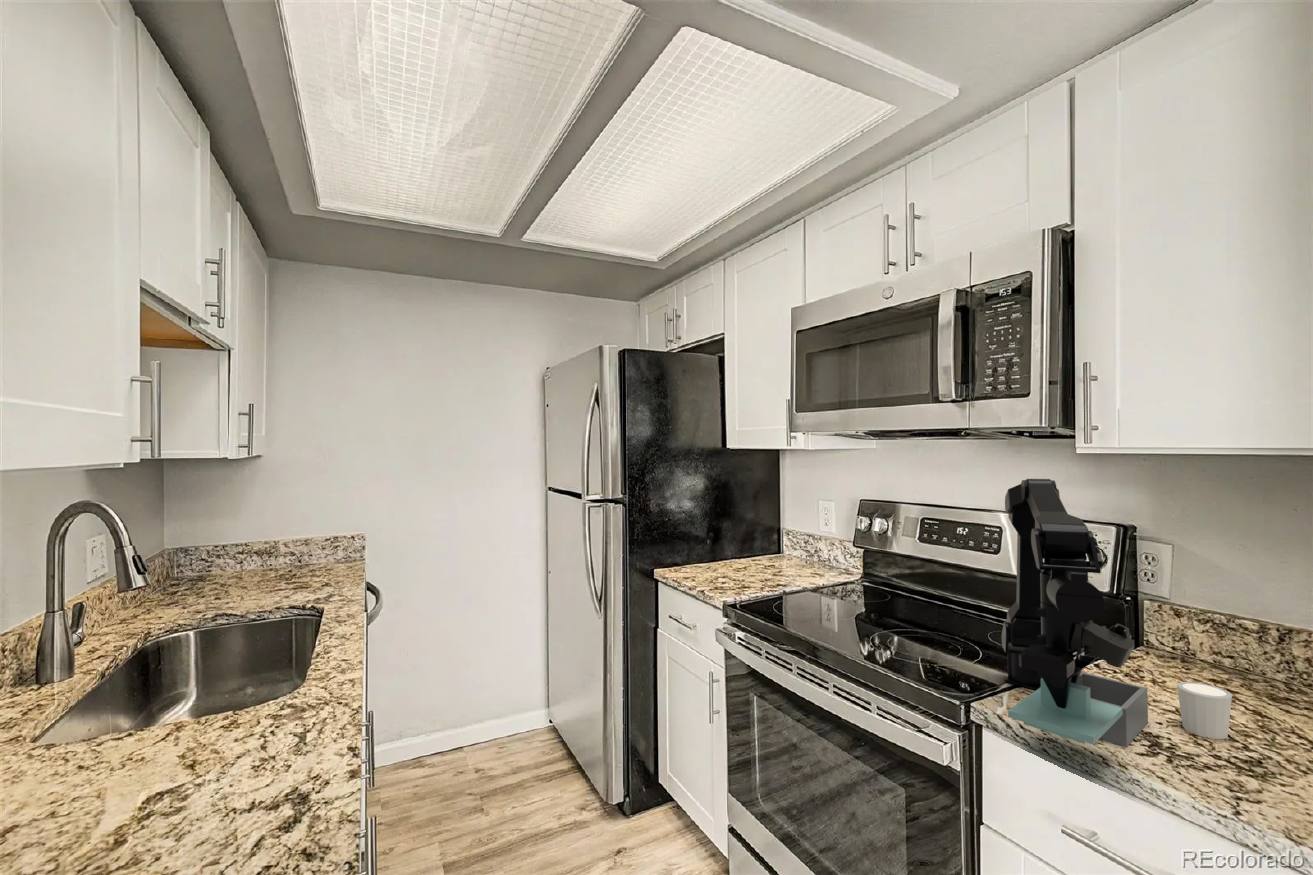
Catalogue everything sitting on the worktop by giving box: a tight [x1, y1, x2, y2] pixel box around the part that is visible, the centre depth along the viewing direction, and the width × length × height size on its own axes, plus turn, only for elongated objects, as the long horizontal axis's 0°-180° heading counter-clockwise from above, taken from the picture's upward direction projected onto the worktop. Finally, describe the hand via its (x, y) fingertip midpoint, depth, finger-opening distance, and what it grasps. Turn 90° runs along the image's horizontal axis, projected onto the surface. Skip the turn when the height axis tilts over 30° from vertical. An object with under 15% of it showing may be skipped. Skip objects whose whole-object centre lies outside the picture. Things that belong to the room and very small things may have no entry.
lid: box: [1007, 678, 1123, 745], centre depth 93 cm, size 11×14×6 cm
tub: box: [1077, 671, 1149, 748], centre depth 104 cm, size 10×13×6 cm
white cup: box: [1176, 681, 1233, 740], centre depth 101 cm, size 7×7×7 cm
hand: (1064, 705), depth 93 cm, fingers closed on lid
